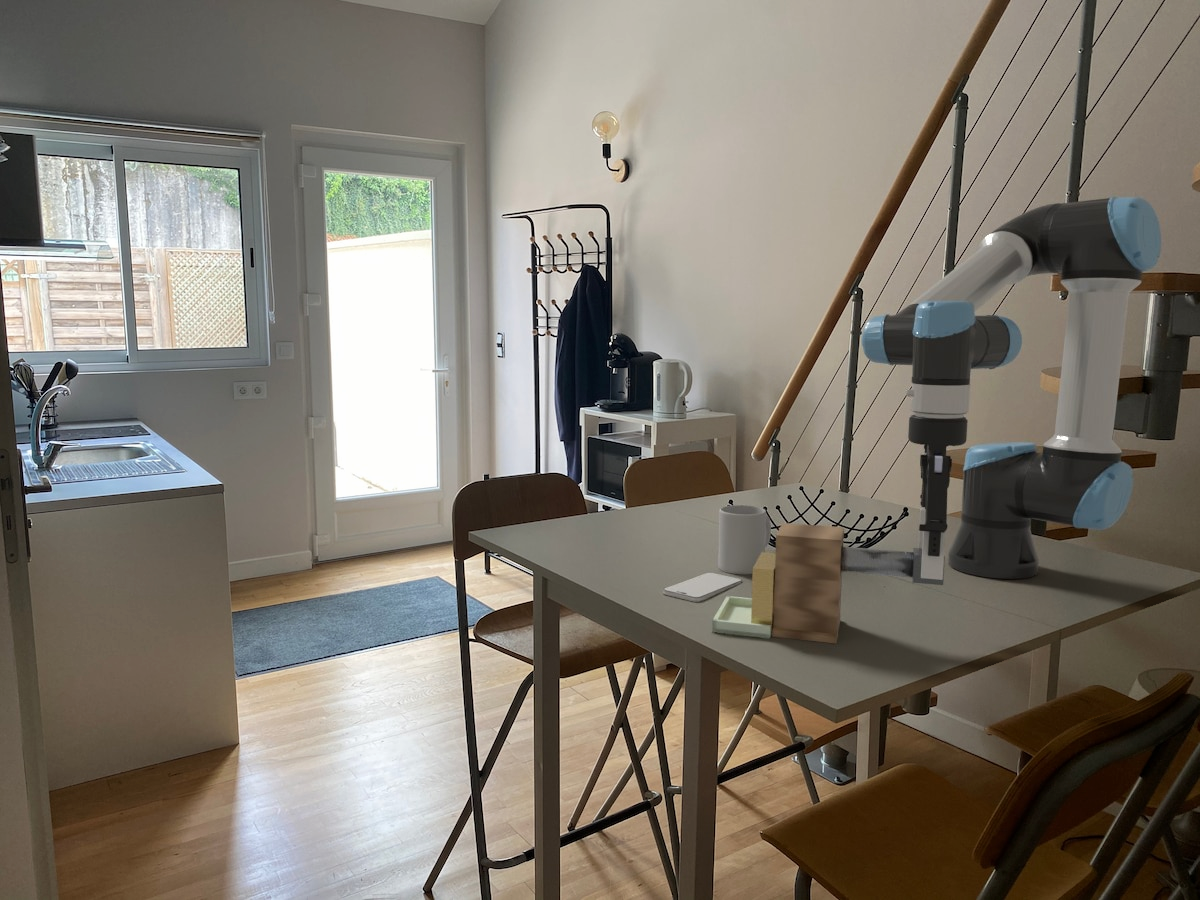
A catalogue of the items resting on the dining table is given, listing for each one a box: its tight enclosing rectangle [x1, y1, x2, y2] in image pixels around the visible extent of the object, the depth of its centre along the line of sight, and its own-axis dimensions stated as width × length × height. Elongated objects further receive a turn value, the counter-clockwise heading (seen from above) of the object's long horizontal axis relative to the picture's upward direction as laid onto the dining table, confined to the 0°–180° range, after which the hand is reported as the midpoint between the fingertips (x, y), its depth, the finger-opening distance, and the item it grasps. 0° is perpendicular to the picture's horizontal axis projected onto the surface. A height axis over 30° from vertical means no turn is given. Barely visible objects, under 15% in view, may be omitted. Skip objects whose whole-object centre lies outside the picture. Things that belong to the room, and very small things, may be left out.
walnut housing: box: [771, 522, 845, 644], centre depth 130 cm, size 9×10×15 cm
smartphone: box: [662, 572, 743, 603], centre depth 151 cm, size 7×1×15 cm
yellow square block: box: [751, 551, 776, 631], centre depth 132 cm, size 3×9×9 cm, turn 162°
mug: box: [717, 504, 772, 576], centre depth 162 cm, size 12×8×11 cm
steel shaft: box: [840, 546, 946, 586], centre depth 127 cm, size 20×4×4 cm, turn 72°
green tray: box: [711, 595, 772, 639], centre depth 134 cm, size 8×12×2 cm
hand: (929, 564), depth 124 cm, fingers open, 13 cm apart
